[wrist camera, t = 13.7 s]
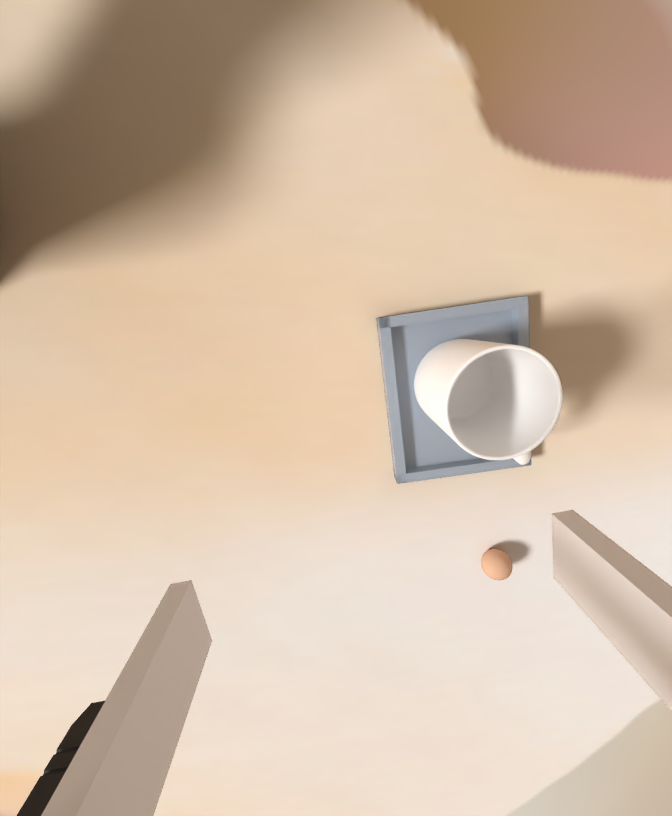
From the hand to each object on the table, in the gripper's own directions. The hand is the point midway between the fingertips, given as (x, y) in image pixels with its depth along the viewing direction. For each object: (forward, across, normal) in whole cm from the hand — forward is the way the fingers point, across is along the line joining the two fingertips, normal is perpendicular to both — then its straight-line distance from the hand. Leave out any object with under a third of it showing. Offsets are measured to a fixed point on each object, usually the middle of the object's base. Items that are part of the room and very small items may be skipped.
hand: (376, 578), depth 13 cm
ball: (+24, +14, -21) cm, 35 cm away
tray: (+25, +12, -1) cm, 28 cm away
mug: (+24, +12, -1) cm, 27 cm away
